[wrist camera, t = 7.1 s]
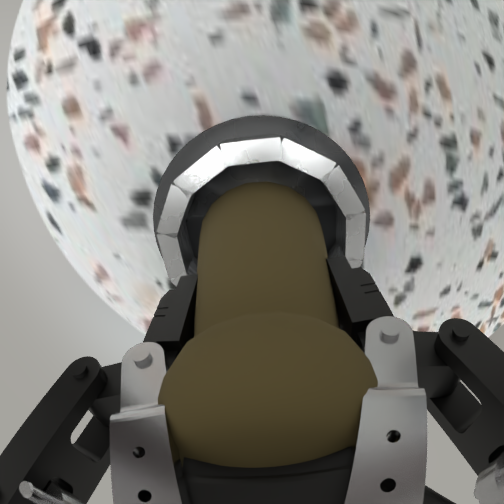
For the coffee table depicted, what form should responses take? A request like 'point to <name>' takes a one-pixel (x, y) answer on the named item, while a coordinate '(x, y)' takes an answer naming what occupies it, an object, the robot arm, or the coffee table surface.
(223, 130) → the plate
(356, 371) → the cork
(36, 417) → the robot arm
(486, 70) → the coffee table surface
